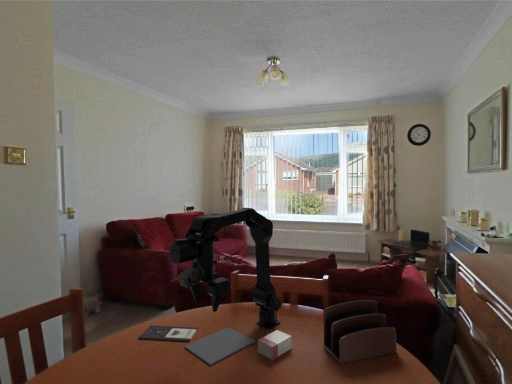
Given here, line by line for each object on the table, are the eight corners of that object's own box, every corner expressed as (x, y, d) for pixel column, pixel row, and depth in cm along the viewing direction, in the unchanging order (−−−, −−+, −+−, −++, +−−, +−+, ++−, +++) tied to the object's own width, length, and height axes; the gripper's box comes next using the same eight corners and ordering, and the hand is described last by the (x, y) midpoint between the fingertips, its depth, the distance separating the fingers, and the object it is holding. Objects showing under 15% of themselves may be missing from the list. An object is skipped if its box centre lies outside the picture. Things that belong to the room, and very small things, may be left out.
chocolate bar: (150, 325, 114) (197, 327, 112) (150, 327, 114) (197, 330, 112) (138, 337, 105) (189, 340, 103) (138, 340, 105) (189, 343, 103)
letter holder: (323, 347, 98) (322, 304, 98) (375, 337, 104) (375, 296, 103) (340, 365, 89) (339, 317, 88) (397, 353, 94) (397, 308, 94)
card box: (277, 341, 102) (277, 329, 102) (291, 348, 98) (291, 336, 98) (258, 352, 96) (258, 339, 96) (272, 360, 92) (272, 347, 91)
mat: (228, 328, 112) (227, 327, 112) (255, 342, 102) (254, 340, 102) (184, 347, 99) (184, 346, 99) (210, 365, 89) (210, 364, 89)
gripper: (165, 257, 95) (166, 306, 96) (200, 268, 82) (201, 326, 83) (196, 251, 103) (197, 297, 104) (232, 260, 90) (233, 313, 90)
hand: (205, 307), depth 95 cm, fingers open, 9 cm apart
